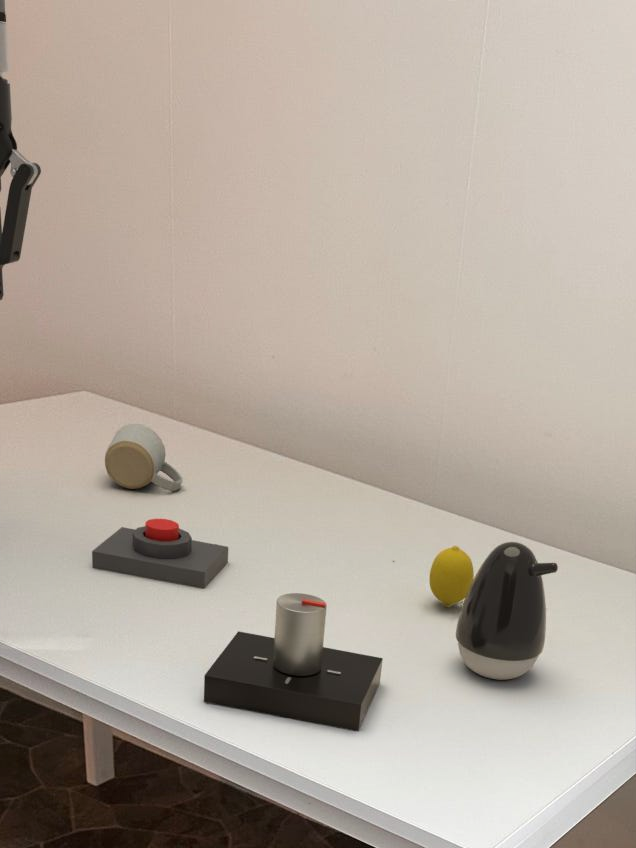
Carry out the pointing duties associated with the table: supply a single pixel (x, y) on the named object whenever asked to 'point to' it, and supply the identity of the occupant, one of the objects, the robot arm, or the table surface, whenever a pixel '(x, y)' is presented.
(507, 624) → the pump dispenser
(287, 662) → the dial
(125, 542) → the button block
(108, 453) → the ceramic mug
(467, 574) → the lemon
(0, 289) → the robot arm
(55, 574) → the table surface
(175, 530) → the power button
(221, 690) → the dial panel
